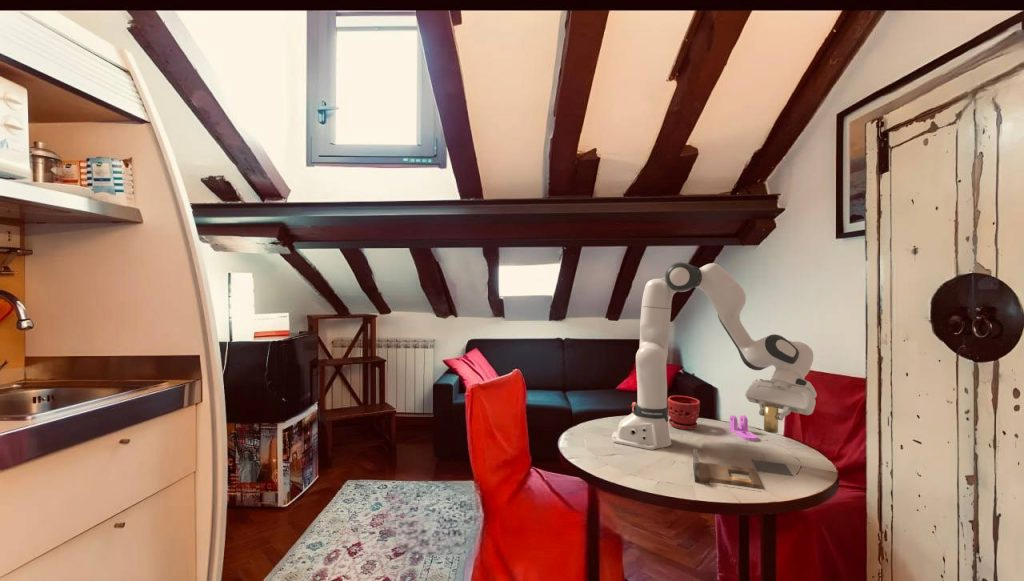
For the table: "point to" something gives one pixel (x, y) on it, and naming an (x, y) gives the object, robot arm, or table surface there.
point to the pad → (772, 467)
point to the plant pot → (683, 411)
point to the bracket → (741, 428)
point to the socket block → (723, 474)
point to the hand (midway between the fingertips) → (770, 416)
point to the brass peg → (770, 419)
